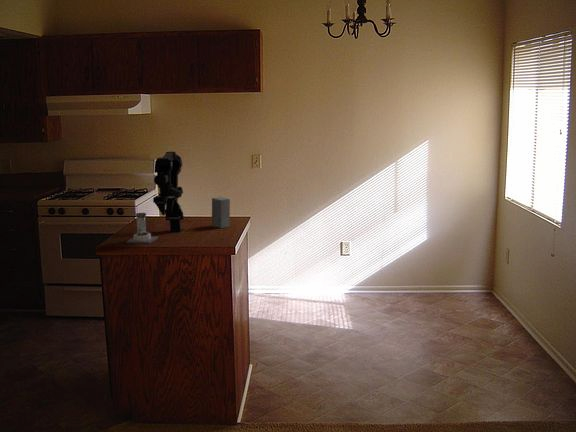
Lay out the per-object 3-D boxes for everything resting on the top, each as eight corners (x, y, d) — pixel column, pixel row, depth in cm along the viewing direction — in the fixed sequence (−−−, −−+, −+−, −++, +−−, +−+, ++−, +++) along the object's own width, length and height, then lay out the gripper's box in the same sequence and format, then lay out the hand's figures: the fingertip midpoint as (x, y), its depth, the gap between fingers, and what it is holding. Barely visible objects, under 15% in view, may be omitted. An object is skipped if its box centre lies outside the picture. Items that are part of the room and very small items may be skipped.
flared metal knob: (146, 237, 323) (145, 212, 320) (148, 239, 319) (146, 214, 316) (136, 238, 321) (135, 213, 319) (138, 240, 317) (136, 215, 314)
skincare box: (211, 226, 347) (210, 198, 344) (221, 224, 352) (220, 196, 349) (221, 228, 341) (219, 199, 338) (231, 226, 346) (230, 197, 343)
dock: (136, 237, 327) (135, 231, 326) (158, 238, 324) (157, 232, 324) (126, 242, 316) (126, 236, 315) (149, 243, 314) (148, 237, 313)
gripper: (173, 185, 306) (175, 217, 309) (186, 180, 324) (188, 210, 327) (151, 185, 308) (153, 217, 312) (166, 180, 326) (168, 209, 329)
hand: (167, 213), depth 320 cm, fingers open, 9 cm apart
